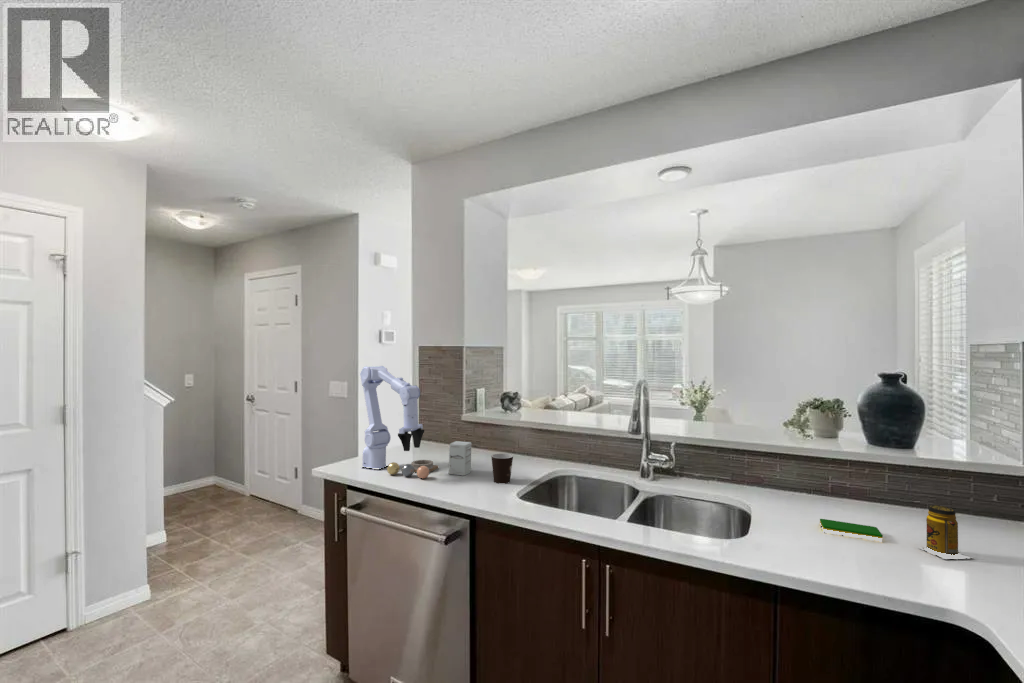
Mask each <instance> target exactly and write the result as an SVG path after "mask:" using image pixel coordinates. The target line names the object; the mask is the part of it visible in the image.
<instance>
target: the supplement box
mask: <svg viewBox="0 0 1024 683" xmlns="http://www.w3.org/2000/svg"><path fill="white" fill-rule="evenodd" d="M472 445H473V444H472V442H471V441H459V440H454V441H453V442H451V443H449V448H448V449H449V450H448V451H449V453H448V454H449V455H448V457H449V458H448V475H455V476H463V475H465V476H467V475H468V474H469V473H471V472H472V471H471V469H472ZM470 471H471V472H470Z"/></svg>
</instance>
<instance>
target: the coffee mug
mask: <svg viewBox="0 0 1024 683" xmlns="http://www.w3.org/2000/svg"><path fill="white" fill-rule="evenodd" d="M490 457H491V465H492V467H491V469H492V475H493V476H492V477H493V478H492V479H493V482H494V483H495V482H496V484H499V483H505V484H509V483H510V482H511V475H512V468H513V460H514V455H513V454H511V453H494V454H492V455H491V456H490ZM508 482H509V483H508Z"/></svg>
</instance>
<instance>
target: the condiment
mask: <svg viewBox="0 0 1024 683" xmlns="http://www.w3.org/2000/svg"><path fill="white" fill-rule="evenodd" d="M927 507H928V508H927V509H928V511H927V514H928V515H927V516H926V518H925V520H926V548H927V547H928V548H930V549H932V550H934V551H937V552H941V553H946V554H951V555H952V554H953V555H955V554H958V553H959V523H958V521H957V517H956V513H957V512H956V511H955V510H954V509H953V508H951V507H947V506H943V505H942V506H941V505H934V504H933V505H928V506H927Z"/></svg>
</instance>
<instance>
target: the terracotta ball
mask: <svg viewBox="0 0 1024 683" xmlns="http://www.w3.org/2000/svg"><path fill="white" fill-rule="evenodd" d="M416 475H417V477H418V478H419V479H421V478H422V479H423V480H424V479H426V478H428V477H429V475H430V473H429V469H428V467H426V466H420V467H419V468H418V469H417V473H416Z"/></svg>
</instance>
